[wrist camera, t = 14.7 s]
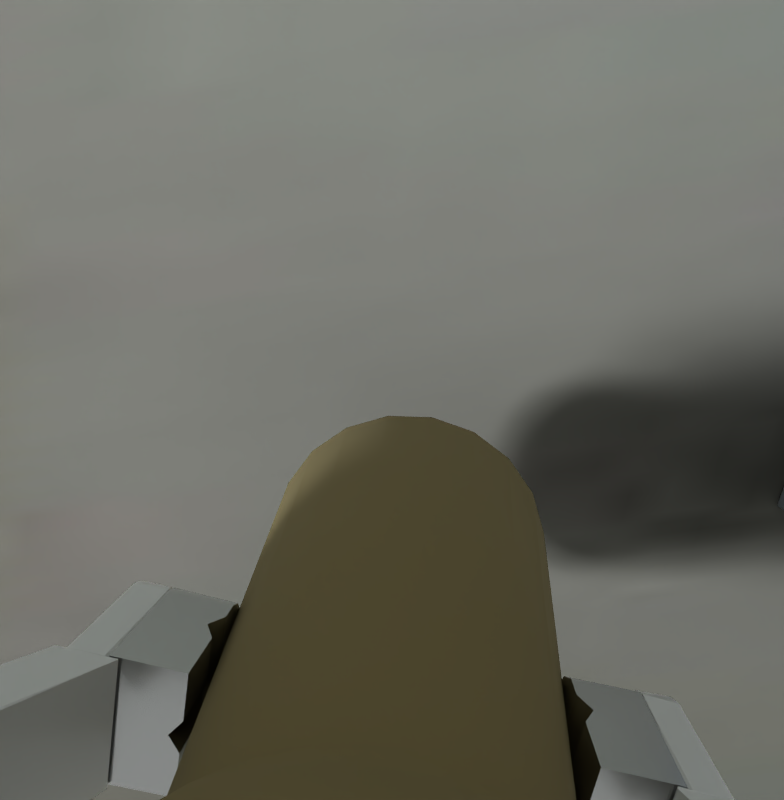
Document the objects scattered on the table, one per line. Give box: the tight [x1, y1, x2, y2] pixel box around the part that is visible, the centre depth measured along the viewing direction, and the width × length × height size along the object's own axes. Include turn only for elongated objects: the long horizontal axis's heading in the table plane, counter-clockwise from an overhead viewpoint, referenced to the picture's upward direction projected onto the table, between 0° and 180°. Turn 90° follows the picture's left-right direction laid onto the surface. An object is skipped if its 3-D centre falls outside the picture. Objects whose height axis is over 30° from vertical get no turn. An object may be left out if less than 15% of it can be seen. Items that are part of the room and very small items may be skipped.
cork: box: [160, 416, 576, 800], centre depth 7 cm, size 6×6×11 cm
